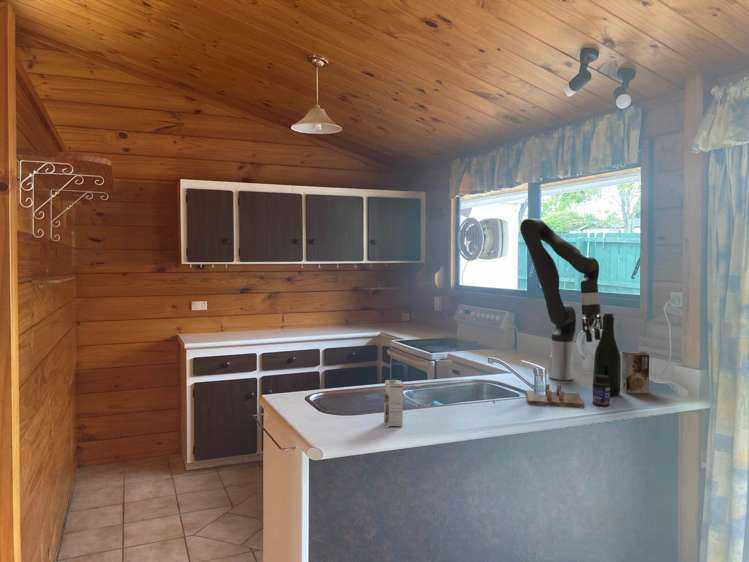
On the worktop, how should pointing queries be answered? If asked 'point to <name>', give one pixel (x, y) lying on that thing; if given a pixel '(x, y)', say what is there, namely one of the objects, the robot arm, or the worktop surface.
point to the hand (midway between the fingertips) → (593, 340)
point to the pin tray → (555, 398)
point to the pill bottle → (601, 391)
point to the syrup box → (393, 403)
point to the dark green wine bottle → (608, 356)
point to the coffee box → (635, 372)
